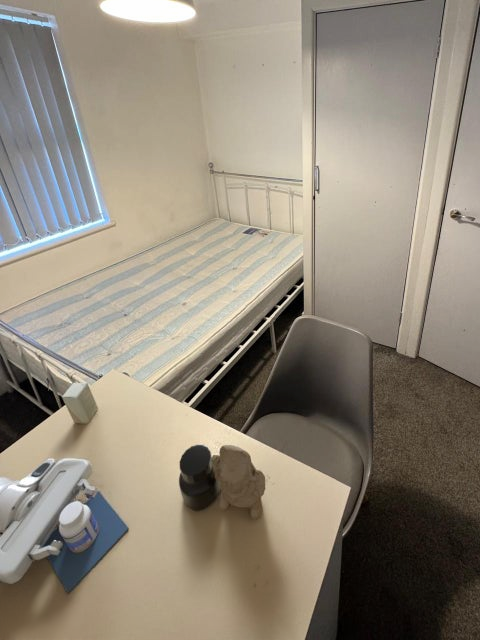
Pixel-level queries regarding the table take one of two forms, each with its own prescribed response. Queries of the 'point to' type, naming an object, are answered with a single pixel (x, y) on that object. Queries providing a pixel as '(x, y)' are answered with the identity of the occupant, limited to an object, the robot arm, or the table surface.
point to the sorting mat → (78, 564)
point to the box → (80, 402)
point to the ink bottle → (198, 478)
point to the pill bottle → (78, 526)
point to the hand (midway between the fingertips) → (79, 519)
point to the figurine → (238, 480)
